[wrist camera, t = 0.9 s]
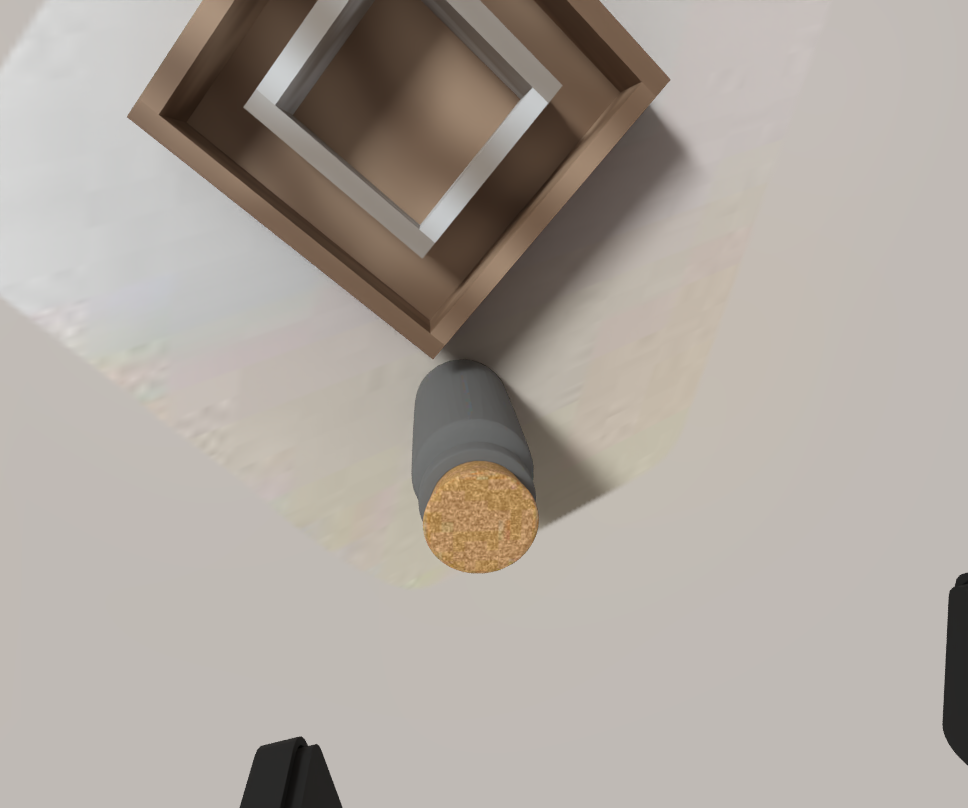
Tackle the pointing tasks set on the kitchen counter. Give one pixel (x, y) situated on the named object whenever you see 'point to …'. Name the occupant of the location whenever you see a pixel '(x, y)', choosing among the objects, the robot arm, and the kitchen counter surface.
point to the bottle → (472, 469)
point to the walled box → (401, 133)
